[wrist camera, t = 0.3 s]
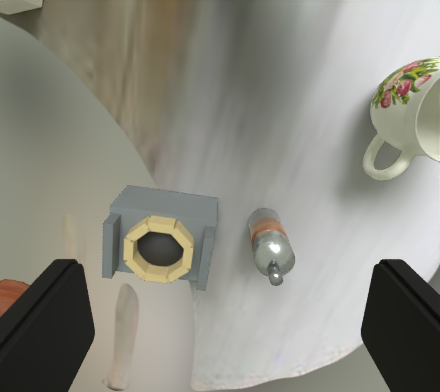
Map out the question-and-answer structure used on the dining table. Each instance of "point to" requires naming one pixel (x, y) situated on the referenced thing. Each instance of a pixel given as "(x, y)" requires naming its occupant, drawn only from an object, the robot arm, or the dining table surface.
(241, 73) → the dining table surface
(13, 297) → the potted plant
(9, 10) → the jar
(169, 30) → the dining table surface
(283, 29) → the dining table surface
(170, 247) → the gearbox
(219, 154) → the dining table surface
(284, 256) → the cocktail shaker
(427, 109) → the pitcher
